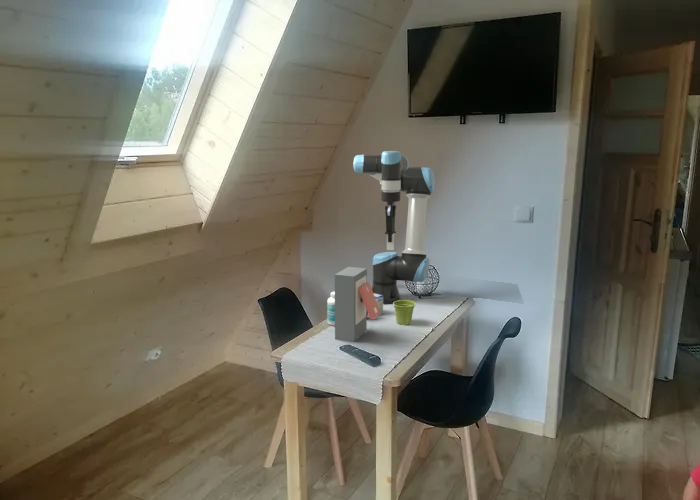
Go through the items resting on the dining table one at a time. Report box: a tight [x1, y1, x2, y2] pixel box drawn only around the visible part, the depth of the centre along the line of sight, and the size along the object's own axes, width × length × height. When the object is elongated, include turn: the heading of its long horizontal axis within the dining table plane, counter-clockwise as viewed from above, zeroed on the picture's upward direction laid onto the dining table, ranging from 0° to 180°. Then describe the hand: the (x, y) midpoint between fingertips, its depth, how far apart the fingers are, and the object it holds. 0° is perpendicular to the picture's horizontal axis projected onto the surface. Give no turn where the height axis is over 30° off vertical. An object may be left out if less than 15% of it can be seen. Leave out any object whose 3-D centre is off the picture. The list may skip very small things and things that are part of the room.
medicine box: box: [373, 293, 384, 316], centre depth 245 cm, size 8×4×9 cm, turn 50°
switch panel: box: [334, 266, 368, 343], centre depth 215 cm, size 14×10×26 cm
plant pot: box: [392, 299, 416, 326], centre depth 232 cm, size 9×9×9 cm
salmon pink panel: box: [358, 281, 381, 321], centre depth 212 cm, size 8×2×13 cm, turn 158°
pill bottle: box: [326, 291, 335, 327], centre depth 230 cm, size 8×7×14 cm
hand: (390, 249), depth 219 cm, fingers closed
